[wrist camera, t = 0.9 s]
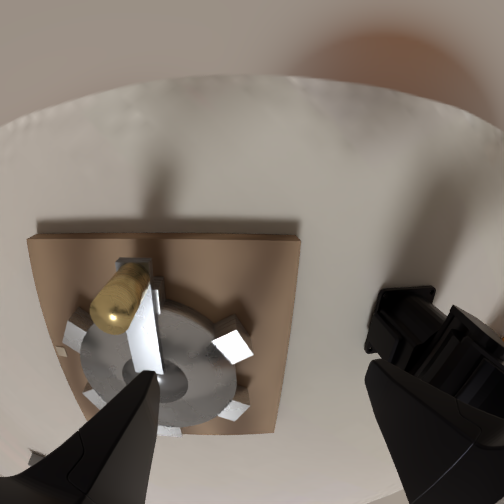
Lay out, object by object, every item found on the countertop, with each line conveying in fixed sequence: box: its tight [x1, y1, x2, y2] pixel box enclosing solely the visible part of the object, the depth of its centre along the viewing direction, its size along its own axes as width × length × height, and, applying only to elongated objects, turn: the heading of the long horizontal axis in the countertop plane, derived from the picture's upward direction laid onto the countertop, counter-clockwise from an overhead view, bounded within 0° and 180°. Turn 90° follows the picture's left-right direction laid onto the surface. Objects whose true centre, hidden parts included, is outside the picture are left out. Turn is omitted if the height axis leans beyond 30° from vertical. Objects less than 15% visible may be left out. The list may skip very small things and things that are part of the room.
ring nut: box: [62, 257, 254, 437], centre depth 17 cm, size 14×17×7 cm
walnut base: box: [27, 233, 301, 435], centre depth 21 cm, size 20×20×2 cm
